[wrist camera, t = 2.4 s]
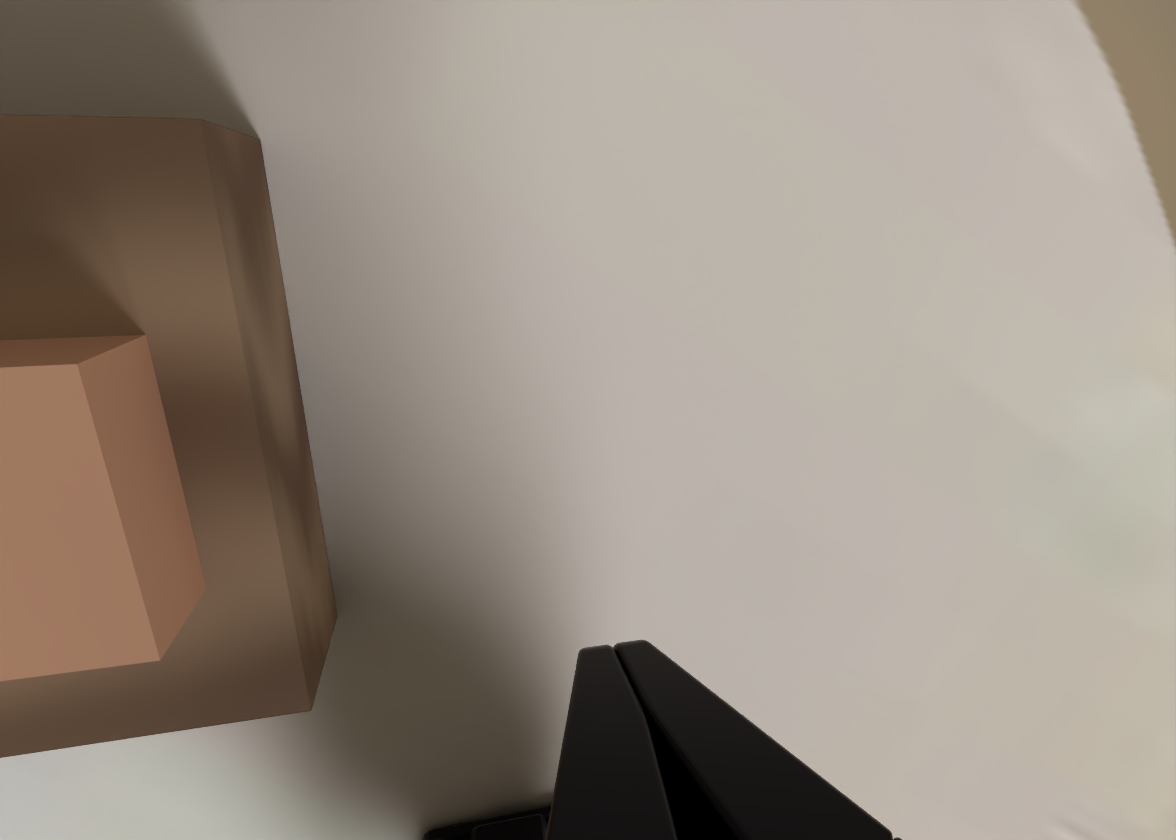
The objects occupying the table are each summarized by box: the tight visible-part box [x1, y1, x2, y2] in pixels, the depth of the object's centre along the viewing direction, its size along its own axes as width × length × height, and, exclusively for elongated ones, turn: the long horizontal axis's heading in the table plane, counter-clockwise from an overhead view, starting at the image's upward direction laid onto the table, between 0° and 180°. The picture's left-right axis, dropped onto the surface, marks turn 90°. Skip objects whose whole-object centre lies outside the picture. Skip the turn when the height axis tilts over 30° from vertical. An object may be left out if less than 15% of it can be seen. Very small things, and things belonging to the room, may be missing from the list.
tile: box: [0, 335, 206, 681], centre depth 12 cm, size 6×4×2 cm
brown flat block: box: [0, 115, 337, 758], centre depth 15 cm, size 14×12×4 cm
